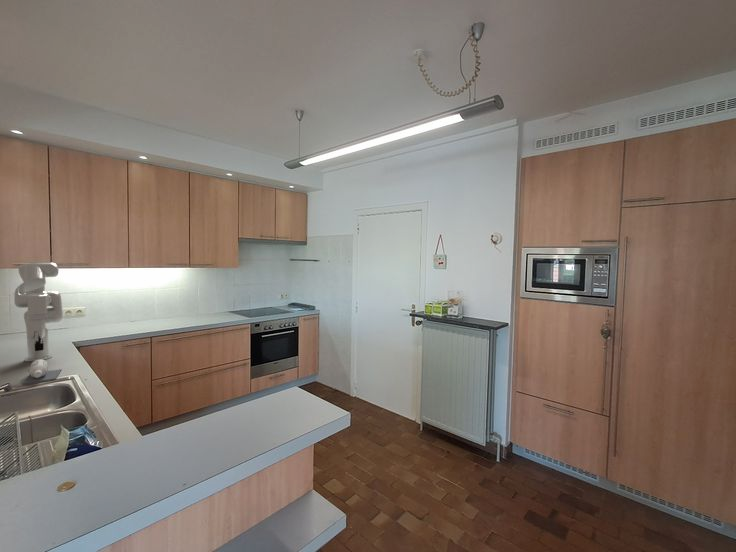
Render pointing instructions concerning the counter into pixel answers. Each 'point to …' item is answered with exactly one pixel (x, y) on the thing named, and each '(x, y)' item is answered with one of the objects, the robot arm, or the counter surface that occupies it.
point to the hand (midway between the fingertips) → (39, 350)
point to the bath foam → (38, 368)
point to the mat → (47, 377)
